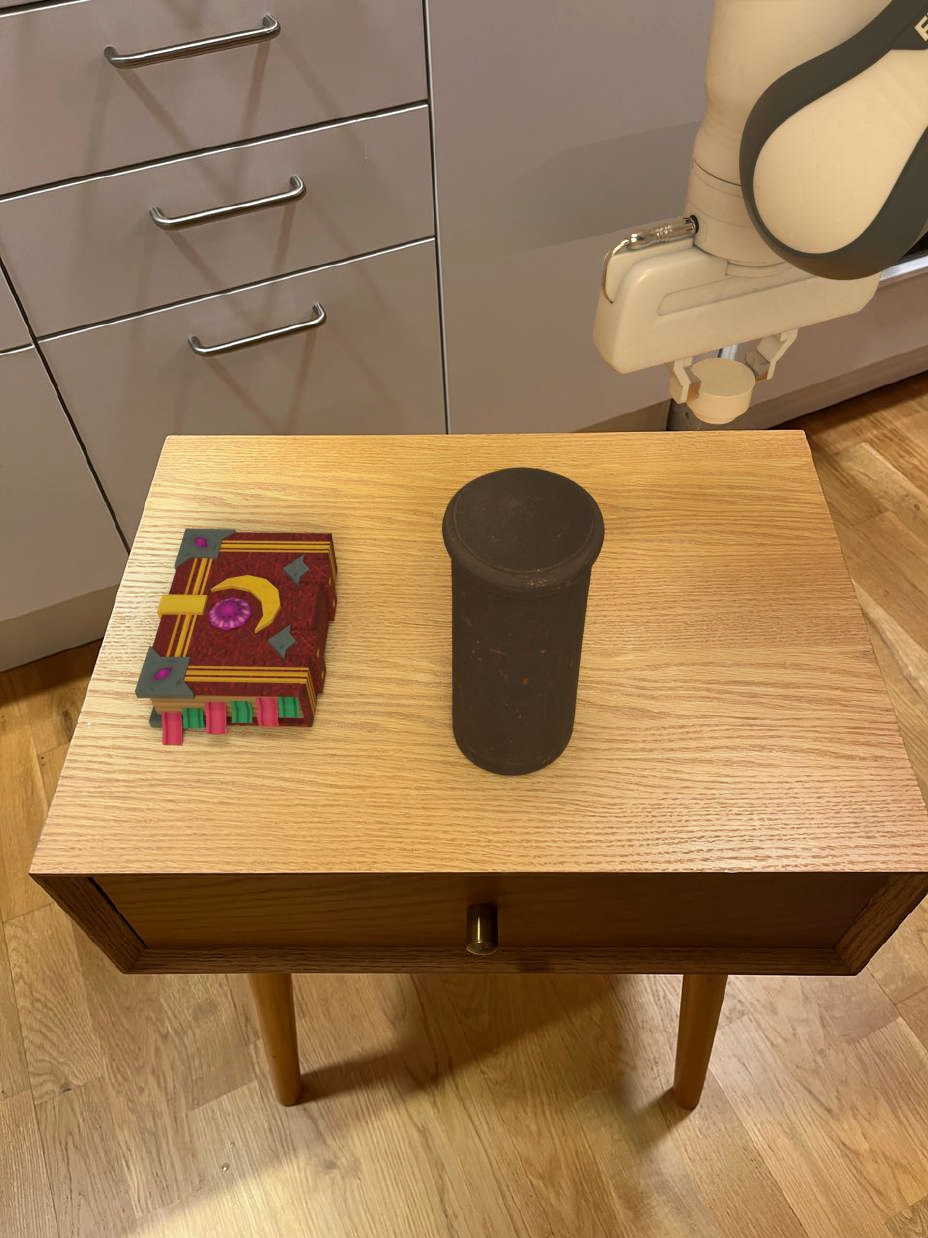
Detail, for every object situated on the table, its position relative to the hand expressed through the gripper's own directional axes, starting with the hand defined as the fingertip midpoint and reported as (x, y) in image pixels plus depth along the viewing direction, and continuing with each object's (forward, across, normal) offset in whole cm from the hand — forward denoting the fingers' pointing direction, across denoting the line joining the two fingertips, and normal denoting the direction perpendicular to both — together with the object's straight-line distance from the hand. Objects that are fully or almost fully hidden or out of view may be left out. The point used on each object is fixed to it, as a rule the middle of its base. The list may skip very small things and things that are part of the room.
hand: (720, 386), depth 70 cm
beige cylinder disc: (+2, 0, 0) cm, 2 cm away
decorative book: (+11, -38, -2) cm, 39 cm away
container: (+11, -22, -15) cm, 29 cm away
